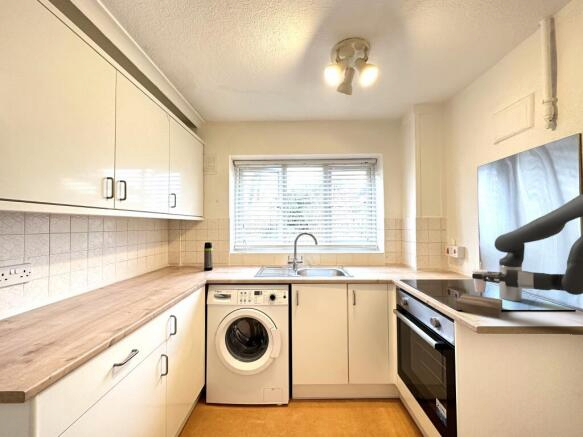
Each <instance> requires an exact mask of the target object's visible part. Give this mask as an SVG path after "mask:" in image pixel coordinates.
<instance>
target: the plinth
mask: <svg viewBox="0 0 583 437" xmlns="http://www.w3.org/2000/svg"><path fill="white" fill-rule="evenodd" d="M455 305H456V307H455V308H456V309H457V310H456V311H459V310H462V311H461V312H465V313H471V314H475V315H476V314H477V315H482V316H486V317H491V318H497V319H499V318H500V316H501V314H502V311H503V299H502V298H495V297H487V296H481V295H474V294H469V293H462V294H461V295H460V296H459V297H458V299H457V300H456V304H455ZM501 310H502V311H501Z"/></svg>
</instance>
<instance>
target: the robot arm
mask: <svg viewBox="0 0 583 437" xmlns="http://www.w3.org/2000/svg"><path fill="white" fill-rule="evenodd" d="M579 218H583V193H582V194H580V195H577V196H575V197H573V198H572V199H571V200H569V201H567V202H566V203H565V204H563V205H561V206H559V207H558V208H555V209H554V210H552V211H550V212H548V213H546V214H544V215H542V216H539V217H537V218H536V219H533V220H531V221H530V222H528V223H526V224H524V225H522V226H520V227H518V228H517V229H514V230H512V231H509V232H506V233H504V234H501V235H499V236H497V237H496V239H495V241H494V248H495V249H496V250H498V252H501V253H505V254H506V255H505V256H504V257H502V258H500V259H499V264H498V266H499V267H498V270H499V271H489V270H487V271H488V274H487V275H484V274H483V275H482V274H473V273H472V274H471V276H472V277H471V278H472V279H473V280H474V279H481V280H483V281H486V283H487V282H488V283H496V284H499V290H498V291H499V293H498V294H499V299H502V300H506V301H512V302H520V301H523V289H524V290H540V291H552V290H553V291H561V292H566V293H567V294H569V295H570V294H571V295H573V296H578V295H583V234H581V236H580V237H579V238H577V239H576V240H575V241H574V242H573V244H572V245H571V248H570V250H569V253H568V257H567V261H566V269H565V272H564V273H546V272H545V273H544V272H534V271H529V270H528V271H527V270H523V263H524V258H525V248H526V247H525V245H526V244H527V243H532V242H539V241H542V240H546V239H548V238H551V237H554V236H556V235H558V234H559V233H561V232H562V231H563V230H564V228H565V226H566V224H567V223H569V222H571V221H573V220H577V219H579Z"/></svg>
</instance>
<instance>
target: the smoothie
mask: <svg viewBox="0 0 583 437" xmlns="http://www.w3.org/2000/svg"><path fill="white" fill-rule="evenodd" d="M482 263H483V262H482V261H479V269H471V273H472V274H482V275H483V274H484V275H487V274H488V271H489V270H487V269H486V270H484V269H483V267H482V265H483V264H482ZM473 285H474V291H475V292H476V293H483V294H484V293H486V287H487V286H486V285H487V281H483V280H481V279H473Z"/></svg>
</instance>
